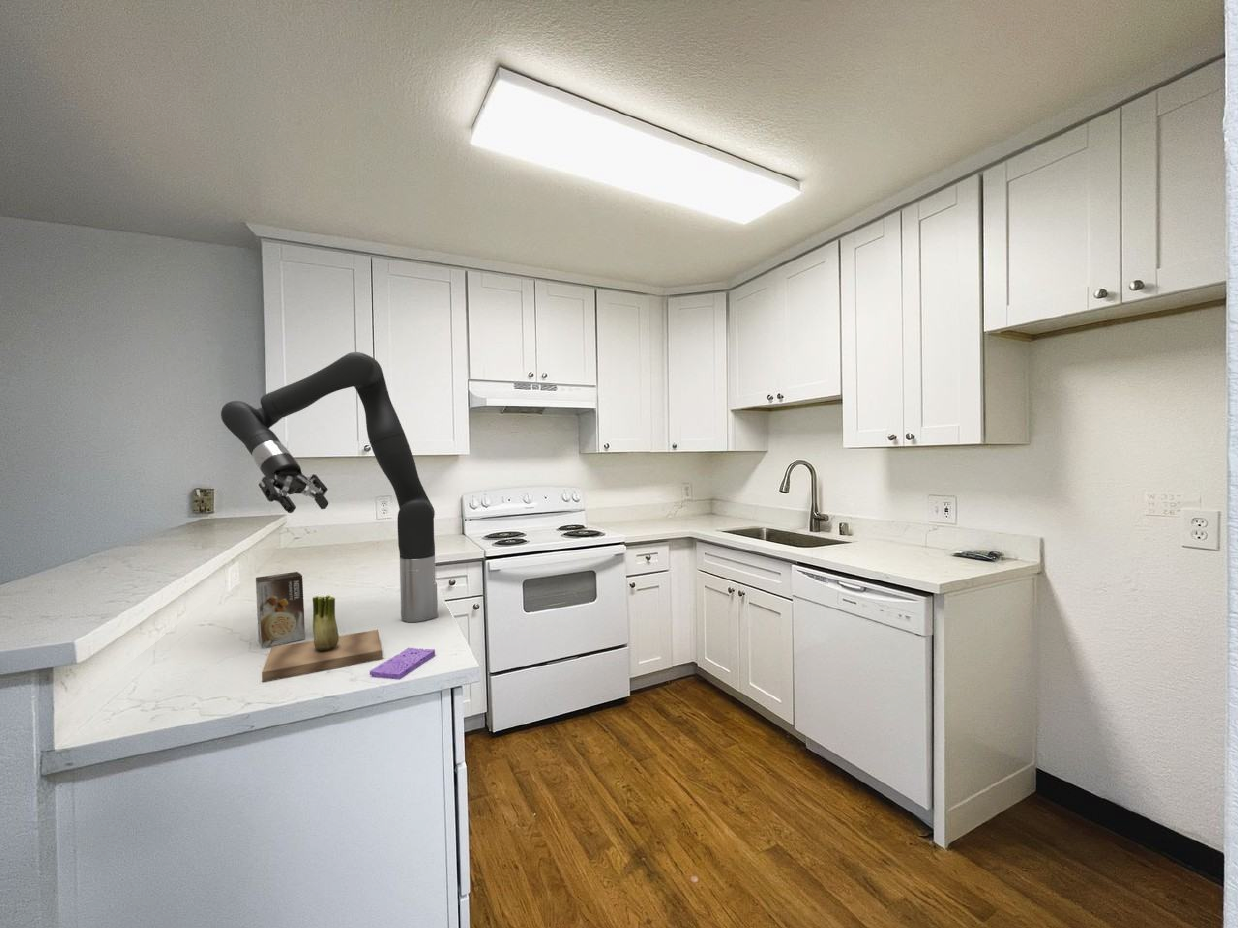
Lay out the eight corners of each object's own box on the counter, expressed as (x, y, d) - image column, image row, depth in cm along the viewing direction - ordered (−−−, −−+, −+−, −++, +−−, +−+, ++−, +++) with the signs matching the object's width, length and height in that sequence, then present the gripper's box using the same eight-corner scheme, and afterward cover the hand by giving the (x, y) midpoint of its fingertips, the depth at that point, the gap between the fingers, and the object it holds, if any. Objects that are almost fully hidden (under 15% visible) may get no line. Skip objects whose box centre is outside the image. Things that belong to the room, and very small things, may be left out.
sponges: (435, 657, 113) (435, 649, 113) (398, 682, 101) (398, 673, 101) (408, 654, 115) (408, 646, 115) (369, 679, 103) (368, 670, 103)
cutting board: (378, 637, 124) (378, 629, 124) (382, 658, 111) (382, 649, 111) (271, 655, 114) (271, 647, 114) (262, 681, 101) (262, 672, 101)
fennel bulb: (310, 648, 113) (308, 595, 113) (334, 641, 117) (332, 591, 116) (318, 654, 109) (317, 600, 109) (342, 648, 113) (341, 595, 112)
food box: (301, 632, 129) (299, 570, 129) (305, 639, 124) (303, 575, 124) (257, 641, 123) (255, 577, 122) (260, 649, 118) (258, 581, 118)
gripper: (253, 452, 119) (288, 501, 115) (309, 451, 132) (342, 495, 128) (239, 474, 121) (273, 523, 117) (296, 471, 134) (328, 515, 130)
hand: (309, 508), depth 123 cm, fingers open, 8 cm apart
